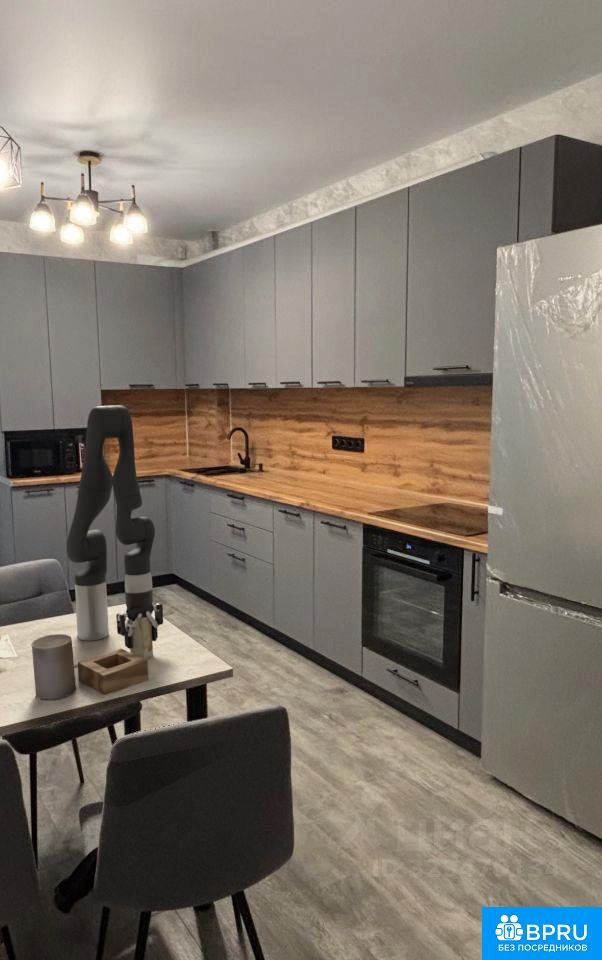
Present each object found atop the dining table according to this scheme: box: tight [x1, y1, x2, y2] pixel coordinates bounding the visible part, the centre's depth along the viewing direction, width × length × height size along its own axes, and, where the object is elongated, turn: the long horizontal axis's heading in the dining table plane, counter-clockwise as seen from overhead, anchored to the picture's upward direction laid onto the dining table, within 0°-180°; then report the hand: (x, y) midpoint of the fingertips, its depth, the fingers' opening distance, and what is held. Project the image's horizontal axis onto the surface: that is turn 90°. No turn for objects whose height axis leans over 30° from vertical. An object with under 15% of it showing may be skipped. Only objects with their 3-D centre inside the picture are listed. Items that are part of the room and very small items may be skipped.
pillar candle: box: [30, 633, 77, 701], centre depth 179 cm, size 10×10×15 cm
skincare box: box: [129, 617, 154, 660], centre depth 201 cm, size 6×4×12 cm
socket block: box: [76, 648, 149, 696], centre depth 186 cm, size 13×13×5 cm
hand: (141, 644), depth 201 cm, fingers closed on skincare box, 7 cm apart
